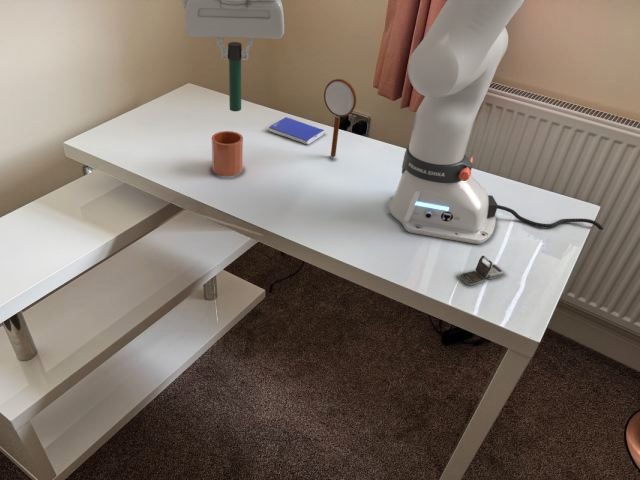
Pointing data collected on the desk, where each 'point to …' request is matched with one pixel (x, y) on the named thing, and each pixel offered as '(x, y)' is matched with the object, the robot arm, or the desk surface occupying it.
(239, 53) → the marker
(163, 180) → the desk surface
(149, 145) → the desk surface
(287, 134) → the hard drive
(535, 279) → the desk surface
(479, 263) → the strap clip
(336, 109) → the magnifying glass
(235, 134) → the pen holder
